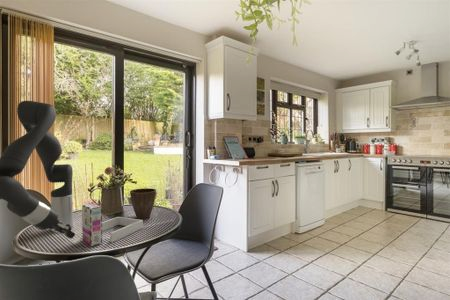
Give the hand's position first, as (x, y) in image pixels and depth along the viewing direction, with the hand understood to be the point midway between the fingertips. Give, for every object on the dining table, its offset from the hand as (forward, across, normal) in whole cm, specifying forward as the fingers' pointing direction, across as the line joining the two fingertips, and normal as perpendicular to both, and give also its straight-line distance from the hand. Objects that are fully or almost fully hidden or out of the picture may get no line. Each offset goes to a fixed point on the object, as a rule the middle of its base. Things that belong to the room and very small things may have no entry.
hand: (72, 236), depth 100 cm
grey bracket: (+20, 0, -12) cm, 23 cm away
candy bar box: (+11, 0, -2) cm, 11 cm away
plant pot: (+38, +4, -29) cm, 48 cm away
